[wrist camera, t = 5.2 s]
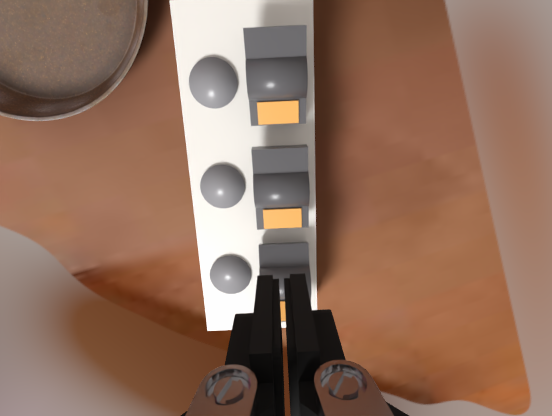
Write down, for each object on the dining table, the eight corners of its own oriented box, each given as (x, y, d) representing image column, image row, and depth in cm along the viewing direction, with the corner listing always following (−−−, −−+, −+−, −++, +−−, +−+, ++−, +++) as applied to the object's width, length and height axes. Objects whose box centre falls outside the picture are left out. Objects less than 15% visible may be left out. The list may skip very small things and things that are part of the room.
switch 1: (245, 27, 20) (241, 28, 18) (303, 24, 20) (308, 25, 18) (252, 118, 23) (250, 129, 21) (303, 116, 23) (307, 127, 21)
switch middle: (252, 144, 22) (250, 152, 20) (305, 141, 22) (309, 150, 20) (258, 219, 24) (256, 234, 22) (306, 217, 24) (309, 232, 22)
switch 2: (260, 242, 25) (257, 246, 23) (306, 240, 25) (309, 244, 23) (263, 314, 25) (261, 326, 23) (309, 312, 25) (313, 324, 23)
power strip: (173, -105, 22) (150, -155, 18) (304, -112, 22) (311, -164, 18) (216, 304, 31) (207, 332, 27) (311, 300, 31) (317, 327, 27)
